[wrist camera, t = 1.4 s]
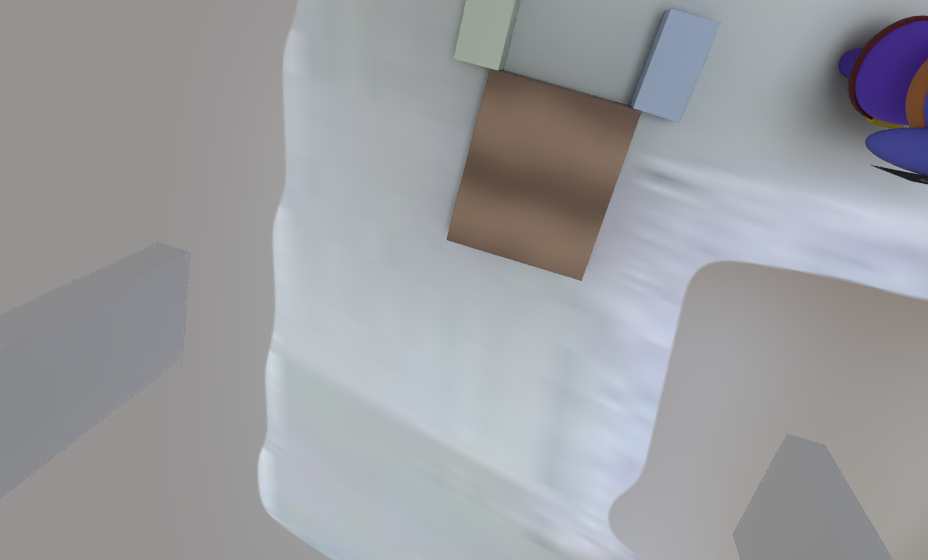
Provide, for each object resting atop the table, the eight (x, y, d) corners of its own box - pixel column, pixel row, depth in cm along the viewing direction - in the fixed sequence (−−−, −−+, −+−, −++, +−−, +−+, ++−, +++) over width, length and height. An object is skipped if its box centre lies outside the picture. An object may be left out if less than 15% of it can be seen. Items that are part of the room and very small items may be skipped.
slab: (495, 68, 42) (490, 68, 40) (638, 108, 42) (641, 111, 39) (453, 230, 47) (446, 239, 44) (581, 269, 46) (581, 280, 44)
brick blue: (665, 11, 40) (671, 8, 37) (710, 25, 39) (720, 23, 37) (629, 104, 42) (632, 108, 39) (672, 118, 42) (679, 122, 39)
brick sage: (482, -37, 40) (475, -44, 38) (527, -26, 40) (522, -32, 37) (461, 58, 43) (453, 58, 40) (503, 69, 42) (498, 70, 40)
